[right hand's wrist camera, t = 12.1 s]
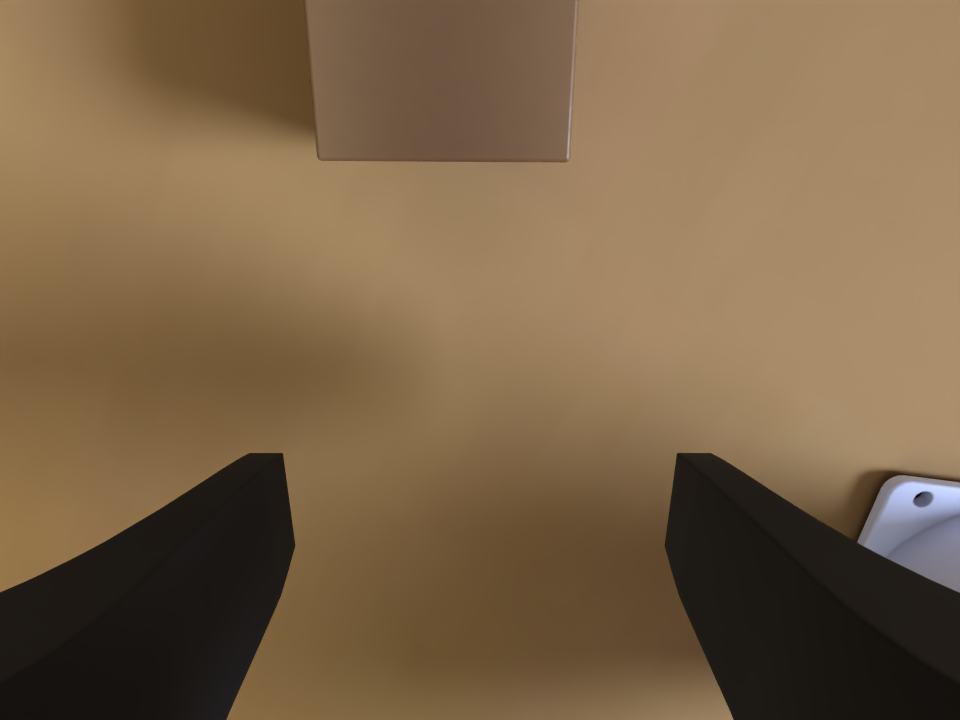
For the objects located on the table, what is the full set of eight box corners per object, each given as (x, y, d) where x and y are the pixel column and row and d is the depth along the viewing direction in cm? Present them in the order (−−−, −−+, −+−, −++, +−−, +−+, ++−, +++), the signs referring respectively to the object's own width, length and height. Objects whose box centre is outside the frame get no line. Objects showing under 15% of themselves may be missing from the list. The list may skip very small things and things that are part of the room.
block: (554, -112, 13) (592, -242, 8) (543, 150, 14) (570, 162, 10) (353, -112, 13) (281, -243, 8) (368, 148, 14) (316, 160, 10)
